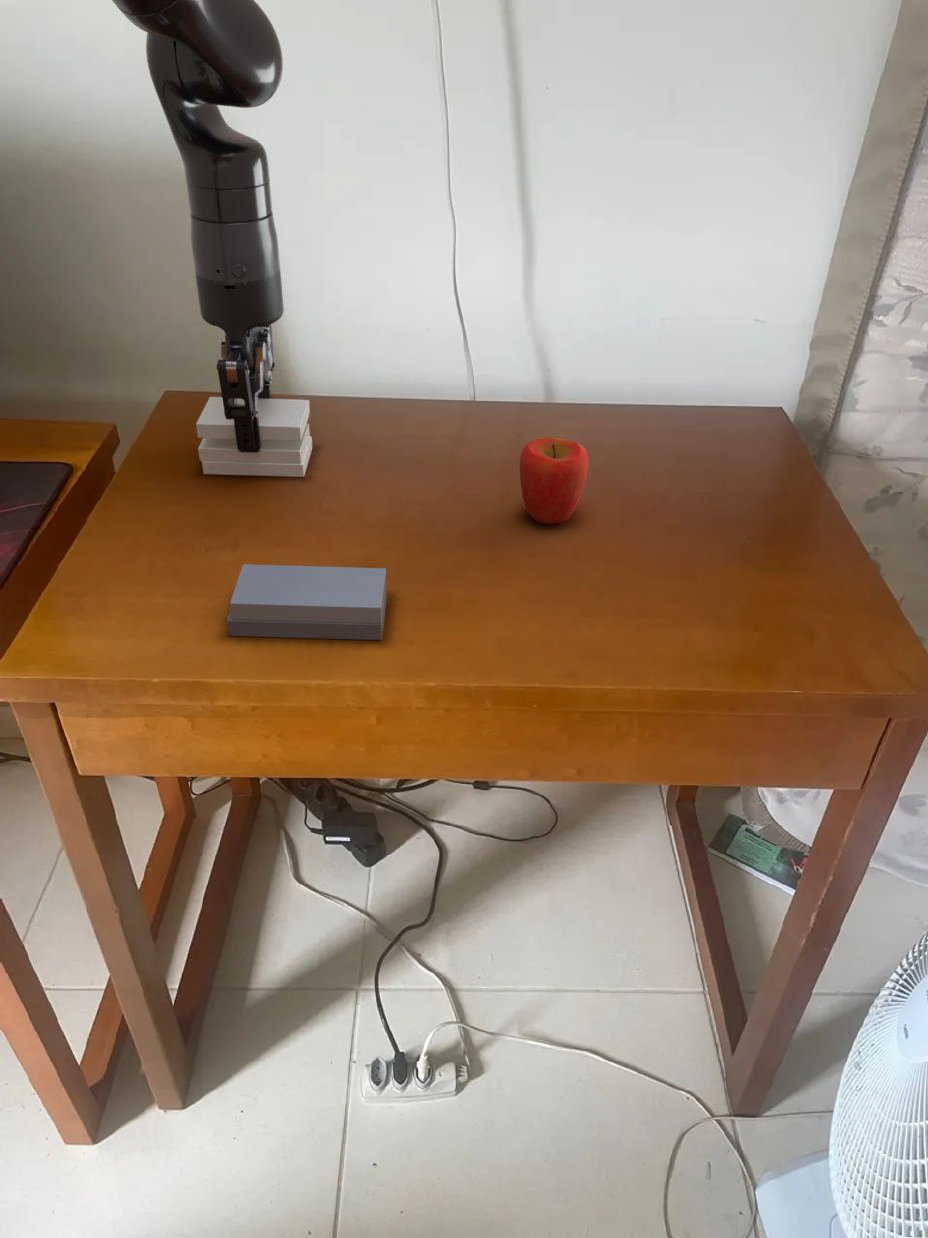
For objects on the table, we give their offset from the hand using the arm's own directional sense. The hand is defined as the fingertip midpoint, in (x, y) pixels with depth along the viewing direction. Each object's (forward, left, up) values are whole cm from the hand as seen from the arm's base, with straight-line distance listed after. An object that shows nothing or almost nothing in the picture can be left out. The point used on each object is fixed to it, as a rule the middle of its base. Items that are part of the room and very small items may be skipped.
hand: (255, 434), depth 98 cm
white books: (0, 0, -3) cm, 3 cm away
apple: (+21, -22, -3) cm, 31 cm away
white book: (0, 0, +1) cm, 1 cm away
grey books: (-5, -27, -3) cm, 28 cm away
